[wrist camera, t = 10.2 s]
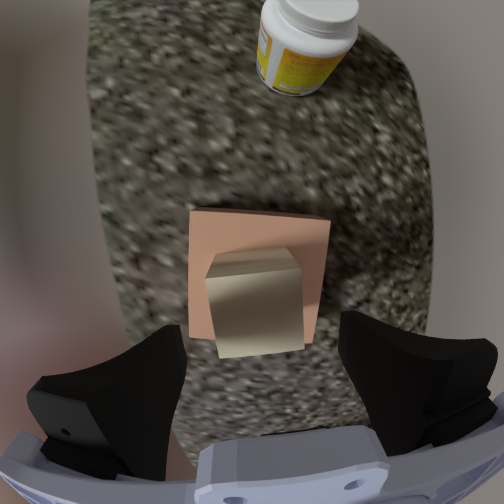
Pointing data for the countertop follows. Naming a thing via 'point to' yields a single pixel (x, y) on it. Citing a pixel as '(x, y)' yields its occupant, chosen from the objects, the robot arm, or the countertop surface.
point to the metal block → (256, 302)
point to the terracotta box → (254, 238)
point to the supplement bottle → (304, 42)
